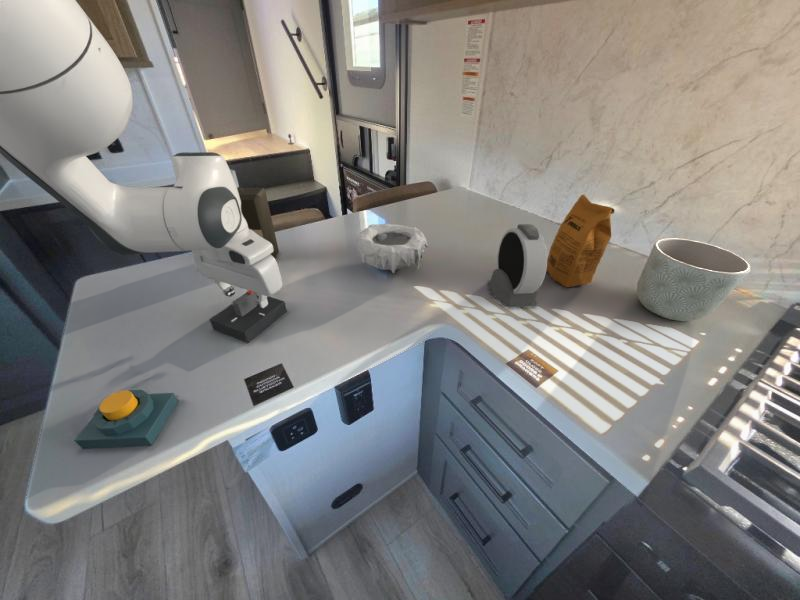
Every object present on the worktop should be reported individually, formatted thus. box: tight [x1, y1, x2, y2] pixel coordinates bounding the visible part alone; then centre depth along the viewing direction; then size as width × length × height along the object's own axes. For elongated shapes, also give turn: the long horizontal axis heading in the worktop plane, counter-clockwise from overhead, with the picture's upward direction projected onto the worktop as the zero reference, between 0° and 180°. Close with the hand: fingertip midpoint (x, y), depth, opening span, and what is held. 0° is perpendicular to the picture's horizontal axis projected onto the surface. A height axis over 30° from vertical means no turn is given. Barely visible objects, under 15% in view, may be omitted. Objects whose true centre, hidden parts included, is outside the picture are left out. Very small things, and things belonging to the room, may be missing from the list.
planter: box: [636, 237, 752, 322], centre depth 74 cm, size 17×17×15 cm
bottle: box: [230, 169, 280, 259], centre depth 89 cm, size 8×16×25 cm, turn 93°
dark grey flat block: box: [209, 294, 288, 344], centre depth 71 cm, size 12×10×3 cm
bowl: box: [356, 223, 429, 274], centre depth 91 cm, size 21×20×10 cm
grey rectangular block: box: [231, 290, 257, 317], centre depth 69 cm, size 5×2×4 cm, turn 156°
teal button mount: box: [73, 389, 179, 449], centre depth 49 cm, size 10×8×4 cm
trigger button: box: [98, 390, 138, 421], centre depth 48 cm, size 4×4×2 cm
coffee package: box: [546, 194, 615, 288], centre depth 84 cm, size 10×12×22 cm
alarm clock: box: [489, 223, 548, 308], centre depth 78 cm, size 16×10×18 cm, turn 6°
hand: (246, 300), depth 69 cm, fingers open, 8 cm apart
